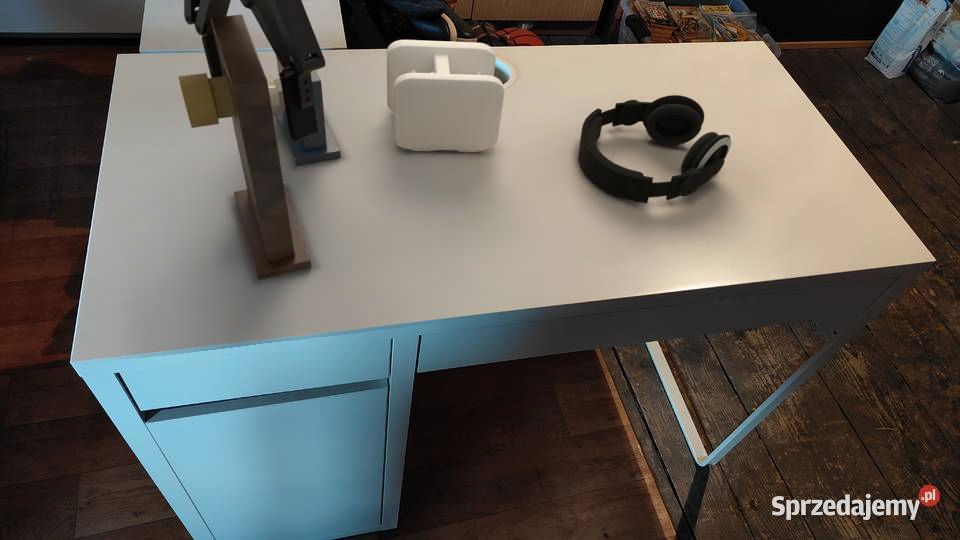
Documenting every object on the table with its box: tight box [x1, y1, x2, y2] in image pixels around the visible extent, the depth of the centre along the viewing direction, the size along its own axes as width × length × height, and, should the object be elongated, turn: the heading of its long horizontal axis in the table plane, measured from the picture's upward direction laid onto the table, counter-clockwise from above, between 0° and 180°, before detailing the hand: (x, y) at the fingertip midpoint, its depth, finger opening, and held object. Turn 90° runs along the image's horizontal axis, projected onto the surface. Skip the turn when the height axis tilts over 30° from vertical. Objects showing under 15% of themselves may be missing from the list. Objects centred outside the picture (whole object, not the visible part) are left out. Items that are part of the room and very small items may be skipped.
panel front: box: [211, 14, 313, 281], centre depth 70 cm, size 6×14×24 cm, turn 23°
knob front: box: [178, 72, 236, 129], centre depth 64 cm, size 6×5×5 cm
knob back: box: [266, 75, 285, 116], centre depth 86 cm, size 6×5×5 cm
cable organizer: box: [386, 39, 505, 153], centre depth 91 cm, size 15×11×12 cm
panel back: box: [274, 55, 342, 167], centre depth 88 cm, size 6×14×12 cm, turn 25°
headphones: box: [577, 94, 732, 204], centre depth 92 cm, size 18×8×20 cm
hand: (265, 114), depth 68 cm, fingers open, 13 cm apart
